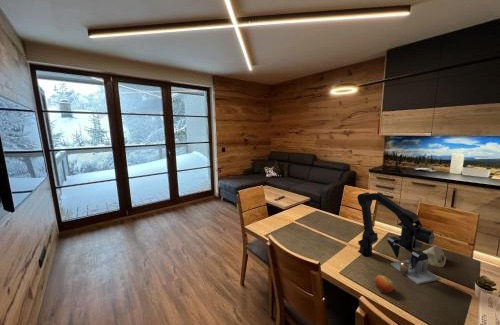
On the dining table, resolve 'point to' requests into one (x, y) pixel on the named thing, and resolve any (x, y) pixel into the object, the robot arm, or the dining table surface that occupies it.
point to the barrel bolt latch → (418, 272)
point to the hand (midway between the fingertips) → (404, 262)
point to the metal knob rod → (405, 267)
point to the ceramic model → (435, 256)
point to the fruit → (384, 284)
